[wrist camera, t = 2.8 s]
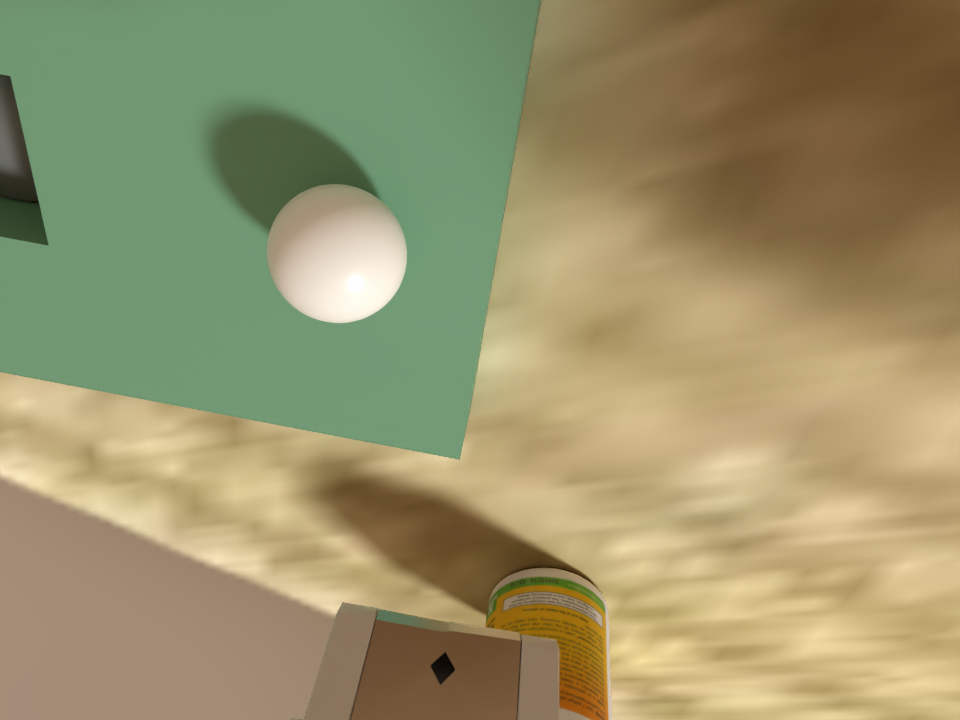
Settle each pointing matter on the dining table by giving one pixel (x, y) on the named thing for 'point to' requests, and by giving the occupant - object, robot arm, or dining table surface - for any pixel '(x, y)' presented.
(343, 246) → the ball
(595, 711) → the supplement bottle
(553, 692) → the robot arm
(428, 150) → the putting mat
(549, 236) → the dining table surface
